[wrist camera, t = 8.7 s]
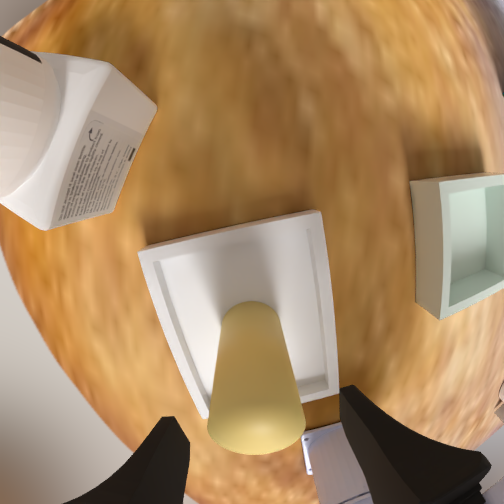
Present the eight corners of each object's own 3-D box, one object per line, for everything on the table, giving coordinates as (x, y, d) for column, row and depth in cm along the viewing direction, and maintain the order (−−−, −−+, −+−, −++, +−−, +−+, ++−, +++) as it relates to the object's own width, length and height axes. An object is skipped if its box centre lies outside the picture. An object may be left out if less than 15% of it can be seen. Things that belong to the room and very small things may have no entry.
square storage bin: (485, 273, 19) (509, 284, 16) (415, 302, 19) (439, 320, 16) (484, 172, 17) (511, 173, 13) (409, 181, 17) (438, 182, 13)
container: (40, 177, 16) (-99, 191, 3) (78, 82, 14) (-44, 22, 1) (114, 214, 17) (-47, 269, 4) (161, 106, 15) (39, -1, 3)
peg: (284, 346, 19) (308, 446, 10) (228, 356, 19) (221, 458, 10) (275, 295, 18) (301, 388, 9) (215, 306, 18) (194, 403, 9)
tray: (333, 379, 20) (339, 393, 19) (204, 404, 20) (202, 419, 19) (313, 209, 17) (321, 211, 15) (146, 245, 17) (137, 252, 15)
